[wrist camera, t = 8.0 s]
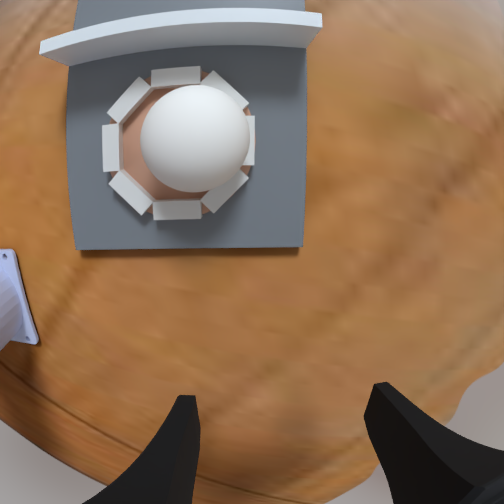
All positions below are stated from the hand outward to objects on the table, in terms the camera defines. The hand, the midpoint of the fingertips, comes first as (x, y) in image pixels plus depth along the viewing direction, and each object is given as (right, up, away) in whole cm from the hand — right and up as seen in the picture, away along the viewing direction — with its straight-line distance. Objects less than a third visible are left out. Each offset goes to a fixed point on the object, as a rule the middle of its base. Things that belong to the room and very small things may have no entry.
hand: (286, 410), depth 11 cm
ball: (-4, +11, +2) cm, 12 cm away
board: (-5, +18, +4) cm, 19 cm away
